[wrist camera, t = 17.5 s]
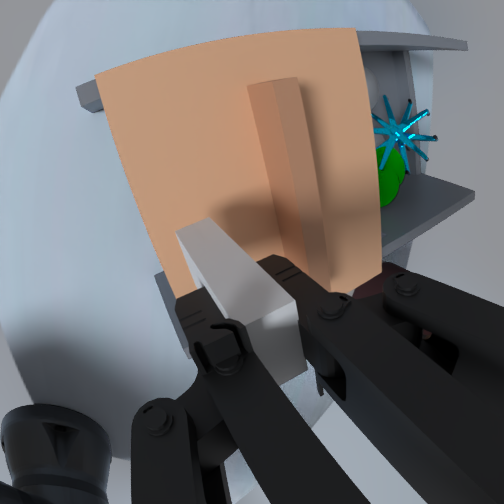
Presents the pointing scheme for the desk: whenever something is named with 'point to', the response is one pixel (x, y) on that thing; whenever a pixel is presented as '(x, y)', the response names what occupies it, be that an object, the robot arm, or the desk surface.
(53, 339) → the desk surface
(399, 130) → the stick construction toy
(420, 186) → the housing
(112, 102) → the lid
